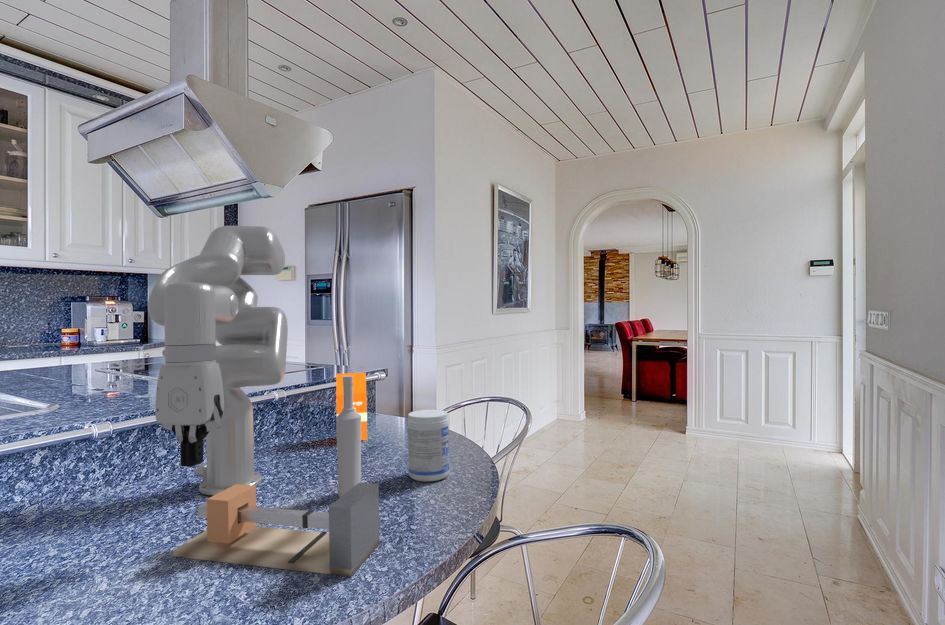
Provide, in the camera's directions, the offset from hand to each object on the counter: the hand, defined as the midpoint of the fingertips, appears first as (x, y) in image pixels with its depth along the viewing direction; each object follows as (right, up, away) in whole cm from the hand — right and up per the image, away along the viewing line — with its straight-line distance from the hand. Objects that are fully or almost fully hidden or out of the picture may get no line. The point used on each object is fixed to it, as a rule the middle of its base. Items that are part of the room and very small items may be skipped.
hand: (192, 464), depth 81 cm
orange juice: (+11, -13, +65) cm, 67 cm away
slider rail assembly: (+16, -13, -3) cm, 21 cm away
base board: (+16, -13, -3) cm, 21 cm away
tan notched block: (+7, -11, -1) cm, 13 cm away
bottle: (+21, -13, +21) cm, 32 cm away
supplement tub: (+37, -13, +31) cm, 50 cm away
